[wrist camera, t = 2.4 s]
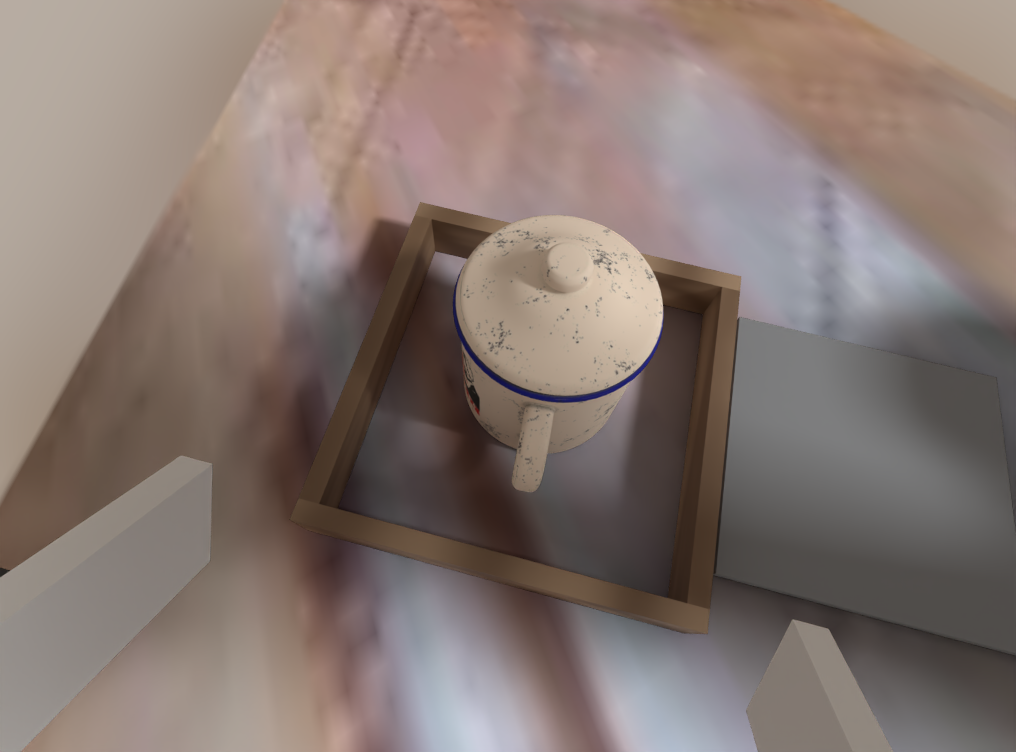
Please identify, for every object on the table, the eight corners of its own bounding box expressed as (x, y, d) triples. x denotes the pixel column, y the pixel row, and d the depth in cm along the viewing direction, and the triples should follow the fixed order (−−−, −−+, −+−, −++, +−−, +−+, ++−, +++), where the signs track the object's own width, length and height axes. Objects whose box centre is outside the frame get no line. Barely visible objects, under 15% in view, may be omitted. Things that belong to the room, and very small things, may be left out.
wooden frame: (720, 304, 35) (741, 276, 32) (684, 633, 27) (707, 633, 24) (424, 234, 36) (420, 202, 33) (308, 530, 28) (289, 519, 25)
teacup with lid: (477, 301, 34) (476, 152, 23) (626, 327, 34) (693, 189, 23) (430, 495, 29) (402, 419, 18) (605, 529, 29) (677, 470, 18)
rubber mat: (988, 381, 33) (996, 377, 33) (1020, 656, 27) (1031, 657, 26) (735, 321, 34) (739, 316, 34) (711, 574, 28) (715, 573, 27)
